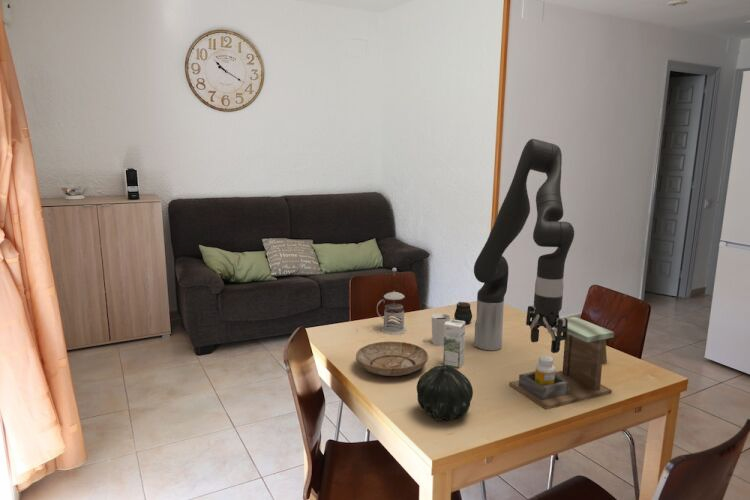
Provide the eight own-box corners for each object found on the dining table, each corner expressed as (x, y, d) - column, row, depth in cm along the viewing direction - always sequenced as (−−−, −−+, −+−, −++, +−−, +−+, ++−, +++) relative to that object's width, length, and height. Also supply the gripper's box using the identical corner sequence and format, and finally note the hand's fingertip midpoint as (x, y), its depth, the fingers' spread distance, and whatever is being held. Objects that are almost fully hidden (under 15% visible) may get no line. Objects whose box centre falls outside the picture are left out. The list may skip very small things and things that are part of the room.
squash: (446, 374, 152) (425, 347, 142) (489, 393, 141) (470, 365, 132) (420, 416, 147) (397, 391, 137) (463, 439, 136) (440, 414, 127)
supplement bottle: (531, 385, 154) (533, 354, 152) (548, 385, 155) (551, 354, 153) (538, 394, 149) (540, 362, 147) (556, 393, 149) (559, 361, 147)
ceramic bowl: (442, 367, 170) (443, 353, 169) (392, 391, 154) (392, 375, 153) (391, 348, 186) (391, 335, 185) (341, 367, 170) (340, 353, 169)
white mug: (451, 341, 193) (452, 315, 191) (445, 347, 187) (446, 320, 185) (435, 338, 196) (435, 312, 194) (428, 344, 190) (428, 317, 188)
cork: (608, 365, 171) (611, 333, 169) (589, 363, 172) (591, 331, 170) (604, 357, 177) (607, 327, 175) (585, 356, 178) (588, 325, 176)
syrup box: (464, 362, 174) (465, 320, 171) (459, 368, 169) (460, 325, 166) (447, 359, 176) (449, 318, 174) (442, 365, 171) (443, 323, 168)
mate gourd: (473, 321, 215) (474, 297, 213) (469, 326, 208) (470, 302, 206) (456, 318, 218) (457, 295, 216) (451, 324, 211) (452, 300, 209)
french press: (407, 334, 199) (407, 270, 195) (376, 334, 200) (376, 270, 195) (406, 326, 209) (406, 265, 204) (376, 325, 209) (376, 264, 204)
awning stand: (546, 409, 142) (550, 345, 139) (509, 385, 157) (512, 326, 153) (611, 393, 152) (617, 332, 148) (570, 371, 166) (575, 316, 163)
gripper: (577, 297, 141) (572, 354, 144) (542, 284, 154) (538, 336, 157) (555, 300, 138) (551, 358, 141) (521, 287, 151) (517, 340, 154)
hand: (544, 346), depth 149 cm, fingers open, 8 cm apart
